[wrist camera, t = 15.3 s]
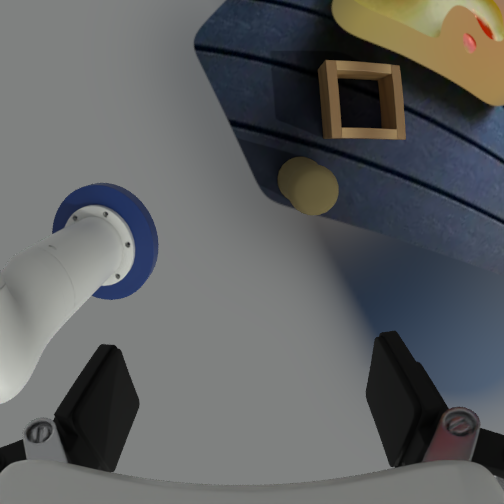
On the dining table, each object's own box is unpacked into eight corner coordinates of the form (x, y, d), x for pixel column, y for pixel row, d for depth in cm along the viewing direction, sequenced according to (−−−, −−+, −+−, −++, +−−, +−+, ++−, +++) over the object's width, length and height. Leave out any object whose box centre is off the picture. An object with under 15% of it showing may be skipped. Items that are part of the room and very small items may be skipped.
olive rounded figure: (333, 178, 40) (358, 190, 29) (302, 212, 41) (317, 235, 31) (299, 147, 39) (314, 147, 28) (267, 181, 40) (271, 194, 30)
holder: (323, 138, 38) (331, 137, 34) (317, 69, 35) (325, 59, 31) (390, 139, 38) (405, 139, 33) (384, 73, 35) (399, 65, 30)
